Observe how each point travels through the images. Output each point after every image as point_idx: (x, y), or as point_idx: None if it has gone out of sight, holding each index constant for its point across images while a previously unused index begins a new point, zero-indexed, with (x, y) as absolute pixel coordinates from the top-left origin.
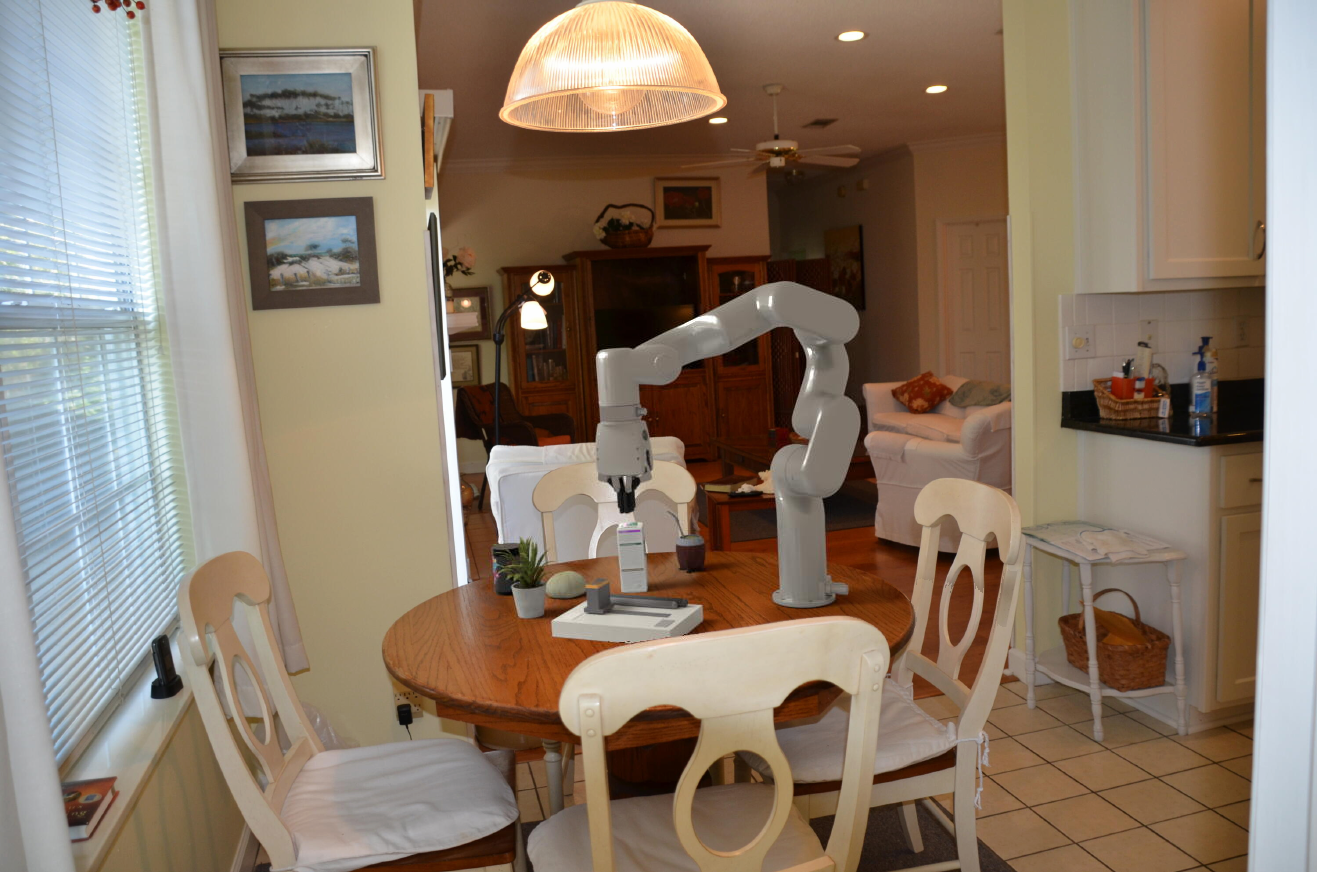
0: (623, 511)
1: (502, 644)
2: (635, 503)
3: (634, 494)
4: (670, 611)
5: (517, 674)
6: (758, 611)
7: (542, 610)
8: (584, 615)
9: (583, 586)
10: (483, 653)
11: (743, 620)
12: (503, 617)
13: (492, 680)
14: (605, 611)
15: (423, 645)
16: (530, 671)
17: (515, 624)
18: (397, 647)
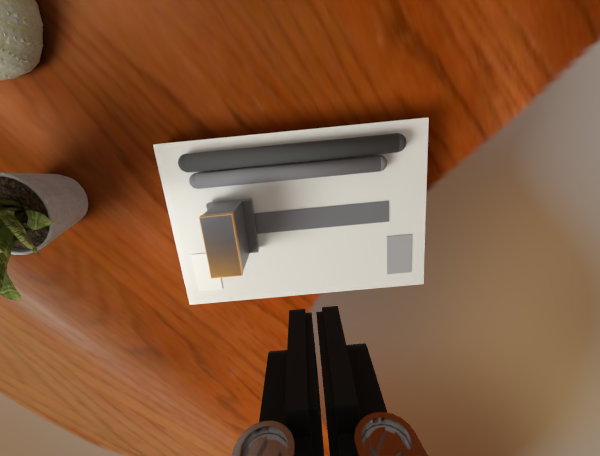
0: (318, 384)
1: (151, 342)
2: (368, 352)
3: (383, 407)
4: (378, 182)
5: None
6: (515, 9)
7: (82, 198)
8: None
9: (31, 14)
10: (157, 378)
11: (496, 89)
12: None
13: None
14: (257, 238)
15: (44, 381)
16: None
17: (86, 258)
18: (18, 398)
